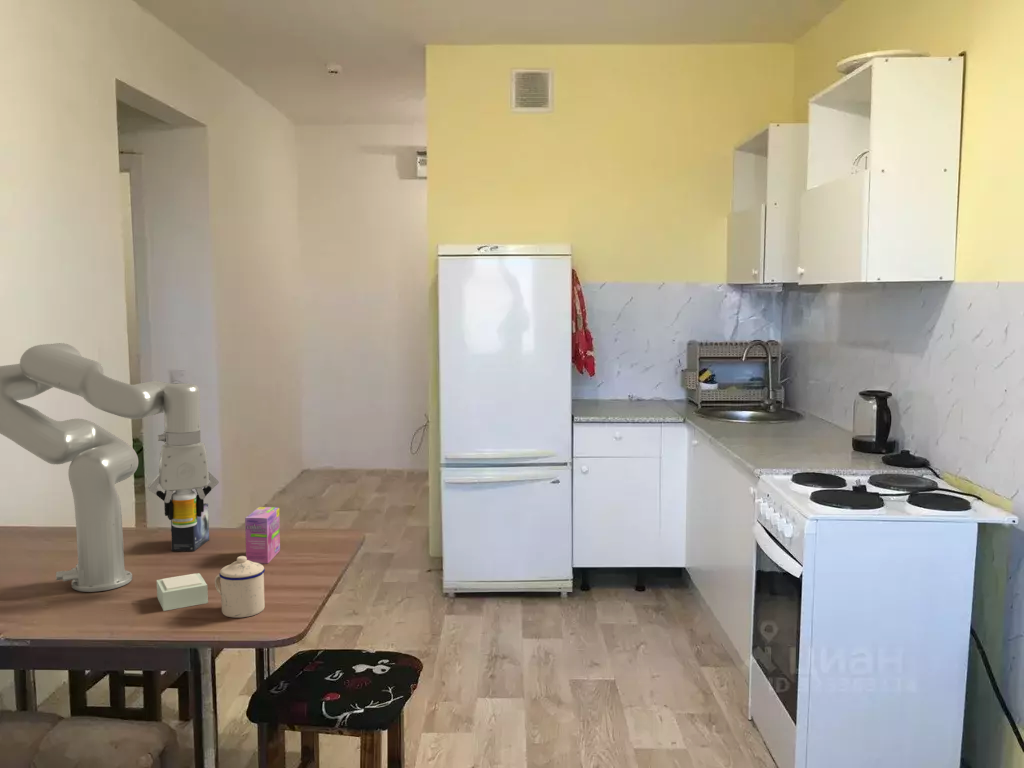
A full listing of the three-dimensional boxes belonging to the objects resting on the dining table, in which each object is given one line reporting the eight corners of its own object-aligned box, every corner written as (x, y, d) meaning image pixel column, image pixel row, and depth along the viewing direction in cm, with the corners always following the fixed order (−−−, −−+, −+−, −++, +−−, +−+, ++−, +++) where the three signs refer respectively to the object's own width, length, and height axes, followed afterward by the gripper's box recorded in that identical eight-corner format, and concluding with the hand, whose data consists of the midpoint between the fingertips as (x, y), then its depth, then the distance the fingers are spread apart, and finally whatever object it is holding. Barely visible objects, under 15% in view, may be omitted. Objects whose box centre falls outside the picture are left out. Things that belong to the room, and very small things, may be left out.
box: (268, 564, 206) (267, 517, 205) (245, 564, 206) (244, 517, 205) (281, 551, 216) (279, 507, 215) (259, 551, 216) (257, 506, 215)
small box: (195, 551, 216) (194, 512, 214) (170, 551, 216) (169, 512, 215) (210, 539, 226) (209, 502, 225) (187, 539, 226) (185, 502, 225)
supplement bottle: (199, 526, 188) (198, 484, 187) (173, 529, 185) (172, 486, 184) (194, 520, 193) (194, 479, 192) (170, 523, 190) (169, 481, 189)
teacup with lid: (275, 606, 178) (273, 553, 176) (244, 621, 170) (242, 566, 168) (232, 598, 183) (230, 546, 182) (200, 612, 175) (198, 558, 173)
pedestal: (163, 610, 175) (162, 590, 175) (157, 597, 183) (156, 578, 182) (208, 602, 180) (207, 583, 179) (200, 590, 187) (199, 571, 187)
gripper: (143, 444, 179) (145, 525, 181) (225, 438, 188) (226, 516, 190) (139, 438, 186) (141, 517, 188) (218, 433, 194) (219, 508, 196)
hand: (184, 516), depth 189 cm, fingers closed on supplement bottle, 5 cm apart
